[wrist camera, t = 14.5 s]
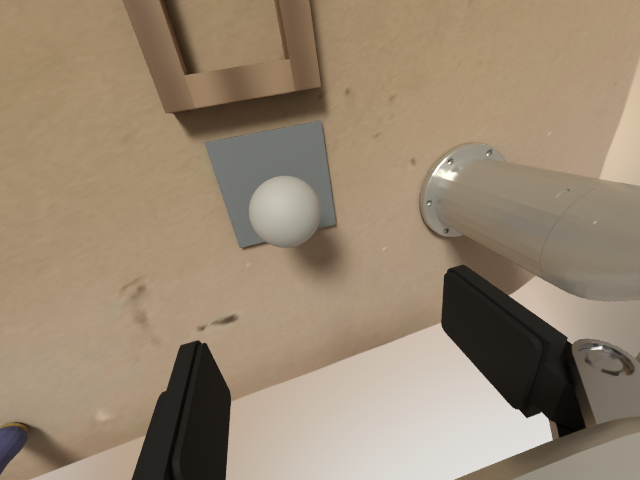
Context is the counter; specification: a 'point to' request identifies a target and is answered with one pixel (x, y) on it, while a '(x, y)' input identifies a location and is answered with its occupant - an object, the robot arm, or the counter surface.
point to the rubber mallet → (11, 442)
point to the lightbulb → (285, 211)
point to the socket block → (231, 83)
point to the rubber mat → (270, 170)
